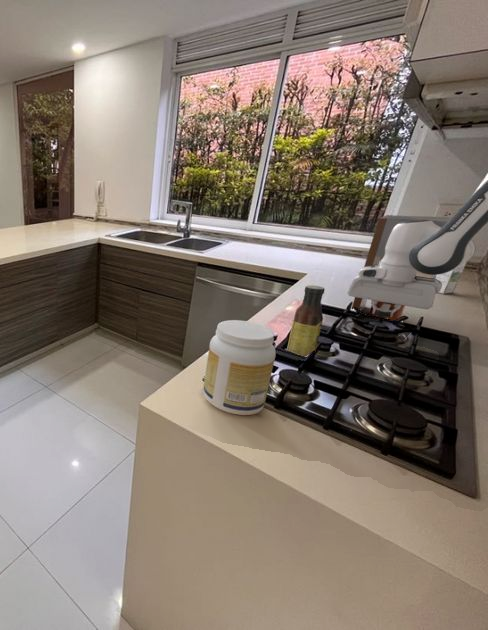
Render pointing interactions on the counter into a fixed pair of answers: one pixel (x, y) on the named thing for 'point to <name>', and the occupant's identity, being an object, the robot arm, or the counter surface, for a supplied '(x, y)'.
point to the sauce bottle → (307, 322)
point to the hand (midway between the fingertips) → (382, 315)
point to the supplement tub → (239, 367)
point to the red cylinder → (384, 309)
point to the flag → (381, 238)
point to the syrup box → (450, 279)
